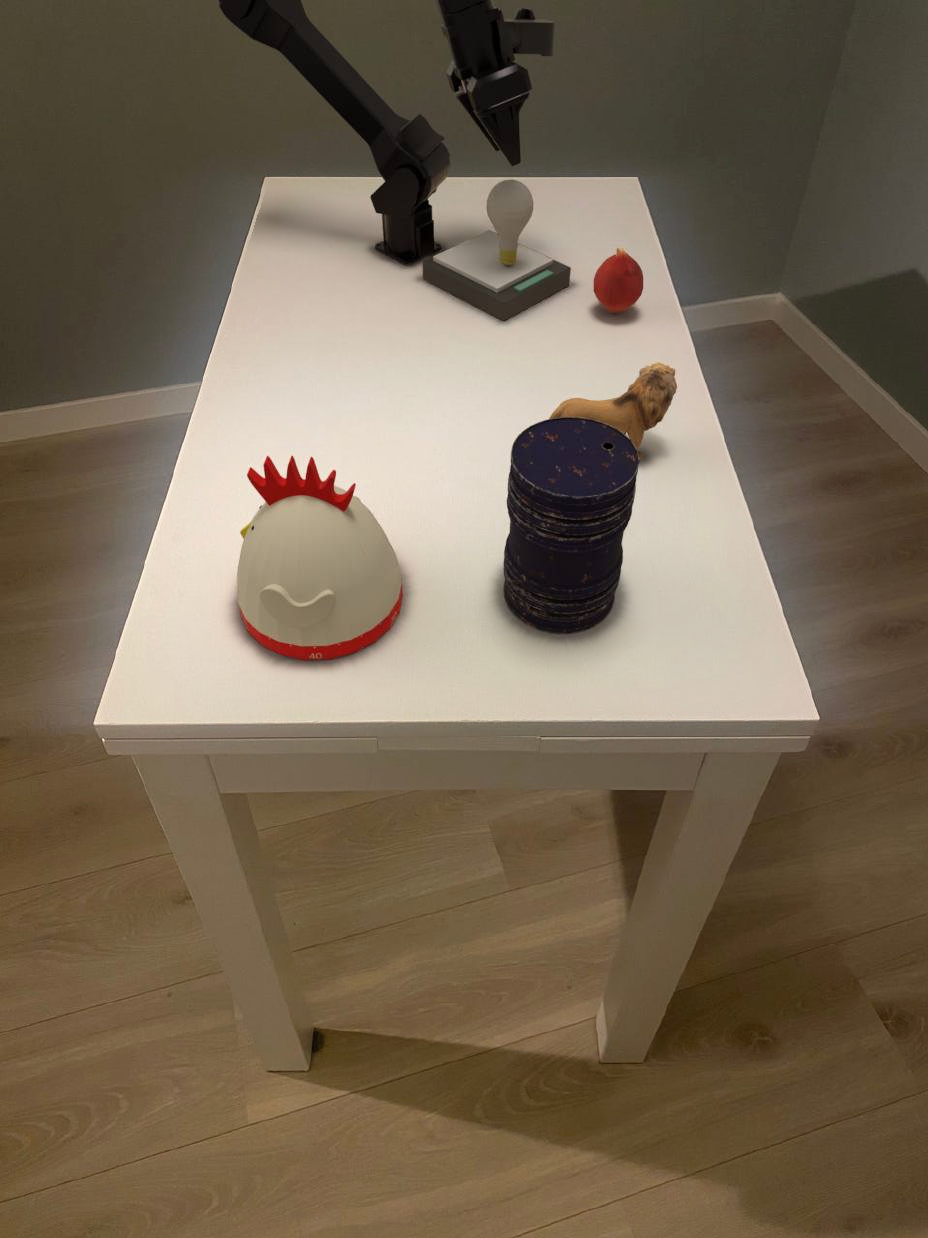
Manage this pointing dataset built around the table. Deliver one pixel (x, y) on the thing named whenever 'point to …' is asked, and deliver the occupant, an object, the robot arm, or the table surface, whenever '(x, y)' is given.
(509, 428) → the table surface
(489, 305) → the kitchen scale
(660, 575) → the table surface
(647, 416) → the lion figurine
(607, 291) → the onion
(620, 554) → the rusty blue oil drum
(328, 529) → the kitchen timer
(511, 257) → the light bulb
